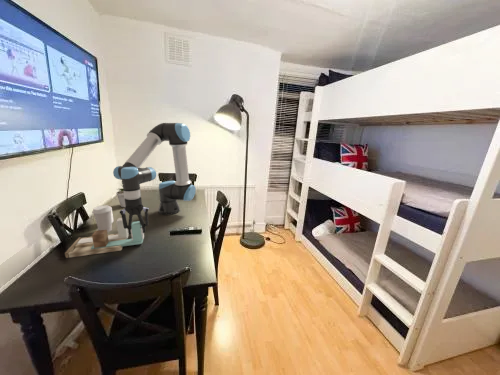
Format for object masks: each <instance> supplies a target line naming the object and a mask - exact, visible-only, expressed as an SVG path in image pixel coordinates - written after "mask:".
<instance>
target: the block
mask: <svg viewBox="0 0 500 375" xmlns="http://www.w3.org/2000/svg"><path fill="white" fill-rule="evenodd" d="M108 235H109V233H108V232H107V230H95V231H94V232H93V233H92V234H91V237H92V239H93V244H94V248H98V247H105V246H106V245H107V244H108V242H109V240H108Z"/></svg>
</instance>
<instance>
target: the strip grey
mask: <svg viewBox="0 0 500 375" xmlns="http://www.w3.org/2000/svg"><path fill="white" fill-rule="evenodd" d="M115 223H116V229H117V234H118V235H110V234H109V235H110V236H108V240H116V239H124V238H125V240H126V239H129V231H128V229H127V228H126V229H125V228H124V226H123V221H122V217H118V218H117V219H116V221H115ZM83 238H84V237H83ZM92 242H93V239H92V238H84V239H80V240H79V241H78V243H77V244H84V243H92Z"/></svg>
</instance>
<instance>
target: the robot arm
mask: <svg viewBox="0 0 500 375" xmlns="http://www.w3.org/2000/svg"><path fill="white" fill-rule="evenodd" d="M190 139H191V132H190V128H189V127H188V125H187V124H185V123H180V122H161V123H159V124H157V125H156V126H154V127H152V129H150V130H149V132H147V134H146V138H145V139H144V140H143V141H142V142H141V144H139V146H138V147H137V148H136V149H135V150H134V152H133V153H132V154H131V155H130V156H129V158H128V159H127V160H126V161H125V162H124V163H123V164H122V166H121V165H118V166H116V167H115V168H113V172H112V174H113V176H114V178H115V179H117V180H120V181H121V185H122V186H123V187H122V189H123V191H124V198H125V206H126V207H124V208H123V209H120V211H119V214H120V215H121V218H122V221H123V226H124V228H125V229H126V228H127V229H128V233H129V235H131V239H132V241H133V234H132V227H131V224H132V222H133V216H137V218H138V221H140V223H141V235H142V239H143V240H144V239H145V233H146V227H148V226H149V206H148V207H145V206H144V205H143V203H142V202H143V201H142V197H141V196H142V194H141V193H142V192H141V191H142V190H141V184H144V183H148V182H151V181H154V180H155V179H156V178H157V172H156V171H157V170H155V169H154V168H153V167H152V166H148V167H147V166H146V167H142V165H143V164H144V163H145V161H146V160H147V159H148V158H149V156H151V154H152V153H153V152H154V150H155V149H156V147H157V146H160V145H161V144H162V143H163V142H168V144H169V146H170V147H171V148H172V156H173V164H174V171H175V172H174V173H175V178H176V181H175V180H166V181H162V182H160V183H159V184H158V192H159V200H160V201H159V207H158V214H159V215H164V216H165V215H166V216H167V215H168V216H170V215H174V214H178V213H179V212H181V208H180V205H179V203H178V201H186V202H189V201H192V200H193V199H194V198H195V195H196V191H197V190H196V186H195V185H193V183H192V180H191V179H190V177H189V167H188V166H189V165H188V159H187V148H186V146H187V145H188V142H189V141H190ZM142 211H143V212H144V218H143V215H142ZM126 213H128V221H127V216H126ZM144 220H145V221H144Z"/></svg>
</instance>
